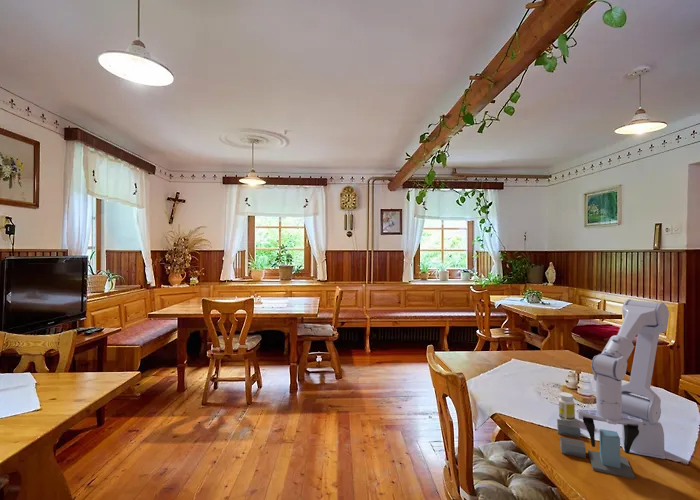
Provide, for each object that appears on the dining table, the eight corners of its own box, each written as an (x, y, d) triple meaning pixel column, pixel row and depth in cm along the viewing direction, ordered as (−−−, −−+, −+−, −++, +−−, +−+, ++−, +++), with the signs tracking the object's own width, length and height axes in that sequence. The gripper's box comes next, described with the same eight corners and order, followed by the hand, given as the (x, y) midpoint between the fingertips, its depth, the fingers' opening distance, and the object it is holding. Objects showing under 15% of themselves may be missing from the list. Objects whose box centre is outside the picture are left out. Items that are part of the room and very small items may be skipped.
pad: (625, 460, 101) (625, 457, 101) (634, 479, 93) (634, 476, 93) (588, 452, 105) (588, 449, 105) (593, 470, 97) (593, 467, 97)
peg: (617, 460, 100) (616, 431, 100) (620, 468, 96) (620, 438, 96) (599, 456, 102) (599, 428, 102) (602, 464, 98) (602, 435, 98)
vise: (577, 427, 119) (577, 418, 119) (585, 458, 103) (585, 447, 103) (556, 424, 122) (556, 415, 122) (561, 453, 105) (561, 443, 105)
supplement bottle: (576, 417, 126) (575, 394, 126) (573, 422, 123) (572, 398, 123) (560, 413, 129) (560, 390, 129) (557, 418, 126) (557, 394, 126)
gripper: (579, 400, 99) (580, 449, 99) (646, 410, 92) (647, 462, 92) (576, 391, 105) (577, 437, 105) (638, 399, 99) (639, 448, 99)
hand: (609, 448), depth 99 cm, fingers open, 7 cm apart
